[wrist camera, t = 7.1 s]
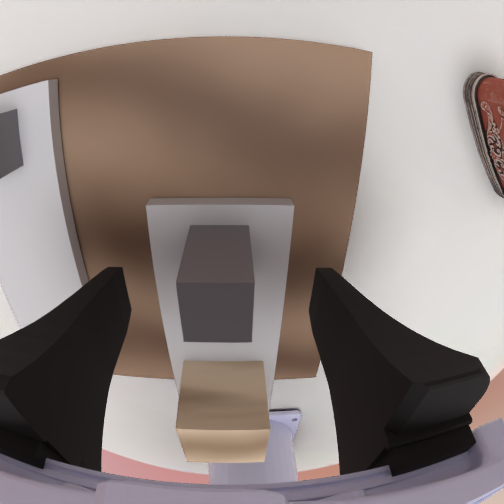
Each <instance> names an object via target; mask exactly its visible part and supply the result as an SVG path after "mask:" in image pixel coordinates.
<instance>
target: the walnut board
mask: <svg viewBox="0 0 504 504" xmlns="http://www.w3.org/2000/svg"><path fill="white" fill-rule="evenodd" d="M371 67H372V52H370V51H365V50H360V49H354V48H349V47H343V46H337V45H331V44H324V43H317V42H309V41H300V40H290V39H278V38H262V37H190V38H174V39H162V40H152V41H143V42H135V43H128V44H121V45H115V46H109V47H104V48H98V49H93V50H88V51H84V52H79V53H75V54H70V55H66V56H62V57H58V58H55V59H51V60H47V61H44V62H40V63H37V64H34V65H30V66H27V67H24V68H21V69H18V70H15V71H12V72H9V73H7V74H4V75H1V76H0V94H2V93H5V92H8V91H11V90H15V89H18V88H21V87H25V86H28V85H31V84H35V83H39V82H42V81H46V80H53V79H58V103H59V119H60V130H61V141H62V150H63V158H64V166H65V173H66V179H67V186H68V192H69V198H70V203H71V208H72V214H73V219H74V224H75V228H76V233H77V237H78V242H79V246H80V250H81V254H82V258H83V262H84V266H85V270H86V274H87V277H88V281H90V280H91V279H92V278H93V277H95V276H96V275H97V274H99V273H100V272H101V271H102V270H104V269H105V268H107V267H122V268H123V272H124V277H125V282H126V287H127V291H128V296H129V300H130V304H131V308H132V311H131V316H130V321H129V326H128V330H127V334H126V337H125V340H124V343H123V346H122V349H121V352H120V354H119V357H118V360H117V363H116V366H115V369H114V372H113V374H114V375H123V376H134V377H147V378H161V379H175V378H174V373H173V369H172V365H171V360H170V355H169V351H168V346H167V341H166V336H165V331H164V326H163V320H162V315H161V309H160V304H159V298H158V292H157V286H156V280H155V273H154V266H153V260H152V252H151V245H150V237H149V229H148V221H147V212H146V204H147V203H148V201H149V200H150V198H287V199H291V200H292V202H293V204H294V214H293V225H292V234H291V244H290V254H289V263H288V272H287V281H286V289H285V298H284V306H283V314H282V322H281V330H280V338H279V345H278V353H277V360H276V367H275V375H274V380H277V379H296V378H311V377H316V374H317V370H318V367H319V363H320V360H321V359H320V356H319V352H318V349H317V346H316V343H315V340H314V336H313V333H312V328H311V323H310V316H309V305H310V299H311V294H312V288H313V282H314V276H315V270H316V268H333V269H334V270H335V271H336V272H337V273H339V274H340V275H342V270H343V266H344V261H345V256H346V251H347V246H348V241H349V236H350V231H351V225H352V220H353V214H354V208H355V202H356V196H357V190H358V184H359V177H360V170H361V163H362V156H363V148H364V140H365V132H366V123H367V114H368V104H369V93H370V81H371Z"/></svg>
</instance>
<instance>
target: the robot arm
mask: <svg viewBox="0 0 504 504" xmlns="http://www.w3.org/2000/svg"><path fill="white" fill-rule="evenodd" d="M131 311H132V308H131V304H130V300H129V296H128V291H127V287H126V282H125V277H124V272H123V268H122V267H107V268H105V269H104V270H102V271H101V272H100V273H99V274H97V275H96V276H95V277H93V278H92V279H91V280H90V281H89V282H87V283H86V284H85V285H84V286H82V287H81V288H80V289H79V290H78V291H76V292H75V293H74V294H73V295H71V296H70V297H69V298H67V299H66V300H65V301H63V302H62V303H61V304H59V305H58V306H57V307H56V308H54V309H53V310H51V311H50V312H48V313H47V314H45V315H44V316H42V317H41V318H39V319H38V320H36V321H34V322H33V323H31V324H29V325H27V326H26V327H24V328H22V329H20V330H18V331H16V332H14V333H13V334H11V335H8V336H6V337H4V338H2V339H0V504H479V503H480V502H482V501H484V500H486V499H487V498H489V497H491V496H492V495H494V494H495V493H497V492H498V491H500V490H501V489H502V488H504V422H503V420H502V418H498V419H495V420H493V421H491V422H489V423H486V424H484V425H482V426H480V427H478V428H476V429H475V430H473V431H471V429H470V427H469V424H471V422H472V417H471V416H470V414H469V412H470V411H471V410H472V408H473V407H474V406H475V405H476V404H477V402H478V401H479V400H480V399H481V397H482V396H483V395H484V393H485V392H486V390H487V388H488V385H489V383H490V376H489V375H488V373H487V371H486V370H485V368H484V367H483V365H482V363H481V362H480V360H479V359H478V358H477V357H474V356H471V355H468V354H465V353H462V352H459V351H456V350H453V349H450V348H448V347H446V346H443V345H441V344H438V343H436V342H434V341H432V340H430V339H428V338H426V337H424V336H422V335H420V334H418V333H416V332H414V331H413V330H411V329H409V328H407V327H406V326H404V325H403V324H401V323H400V322H398V321H396V320H395V319H393V318H392V317H390V316H389V315H388V314H386V313H385V312H383V311H382V310H381V309H380V308H378V307H377V306H376V305H374V304H373V303H372V302H371V301H369V300H368V299H367V298H366V297H365V296H363V295H362V294H361V293H360V292H359V291H358V290H356V289H355V288H354V287H353V286H352V285H351V284H350V283H349V282H348V281H346V280H345V279H344V278H343V277H342V276H341V275H340V274H339V273H337V272H336V271H335V270H334V269H333V268H316V270H315V276H314V282H313V288H312V294H311V299H310V305H309V316H310V323H311V328H312V333H313V336H314V340H315V343H316V346H317V349H318V352H319V356H320V359H321V362H322V365H323V368H324V371H325V375H326V378H327V381H328V385H329V389H330V395H331V400H332V406H333V412H334V419H335V426H336V434H337V443H338V452H339V466H340V475H339V476H333V477H326V478H320V479H313V480H304V481H298V475H297V468H296V461H295V454H294V447H293V440H294V437H295V434H296V431H297V428H298V425H299V422H300V419H301V412H300V411H298V410H293V411H277V412H269V420H270V434H269V440H268V445H267V450H266V456H265V461H264V462H252V463H209V484H189V483H175V482H164V481H155V480H147V479H139V478H133V477H125V476H120V475H115V474H109V473H104V472H101V451H102V437H103V425H104V417H105V410H106V403H107V397H108V392H109V387H110V383H111V379H112V376H113V372H114V369H115V366H116V363H117V360H118V357H119V354H120V352H121V349H122V346H123V343H124V340H125V337H126V334H127V330H128V326H129V321H130V316H131Z"/></svg>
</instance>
